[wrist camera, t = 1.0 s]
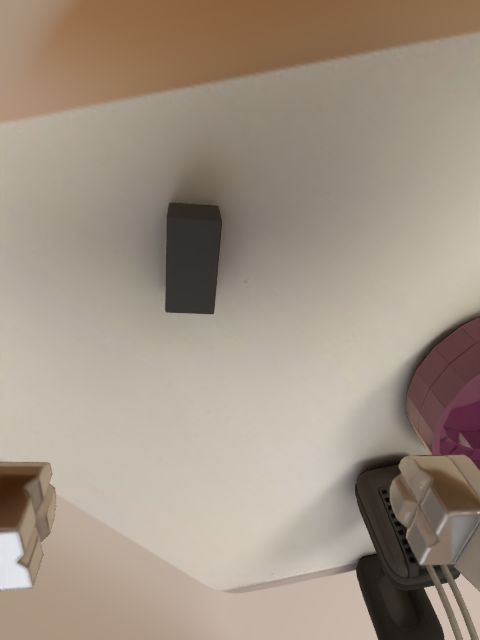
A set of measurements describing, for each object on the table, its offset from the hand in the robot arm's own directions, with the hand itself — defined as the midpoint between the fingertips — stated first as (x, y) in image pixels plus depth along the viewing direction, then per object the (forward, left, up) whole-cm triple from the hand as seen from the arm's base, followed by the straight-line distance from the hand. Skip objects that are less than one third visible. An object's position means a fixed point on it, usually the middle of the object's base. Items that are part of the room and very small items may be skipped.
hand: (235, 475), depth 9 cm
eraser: (+2, -1, -19) cm, 19 cm away
